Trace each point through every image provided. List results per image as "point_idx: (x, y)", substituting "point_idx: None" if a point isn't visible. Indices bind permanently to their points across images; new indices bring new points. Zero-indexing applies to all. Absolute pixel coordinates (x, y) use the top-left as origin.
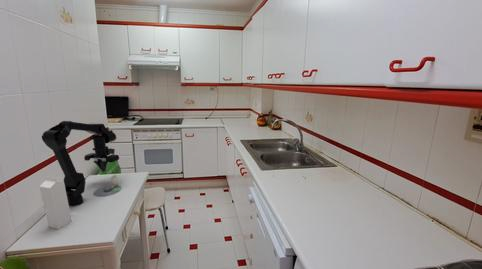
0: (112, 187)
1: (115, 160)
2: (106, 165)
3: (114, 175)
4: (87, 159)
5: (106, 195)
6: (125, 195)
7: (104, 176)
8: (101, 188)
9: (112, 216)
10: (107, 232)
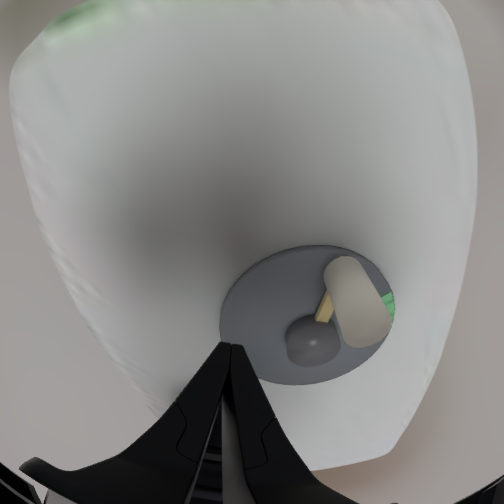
0: (332, 307)
1: (468, 501)
2: (279, 426)
3: (366, 312)
4: (18, 490)
5: (328, 375)
6: (414, 344)
7: (99, 40)
8: (243, 305)
9: (381, 429)
10: (379, 450)
